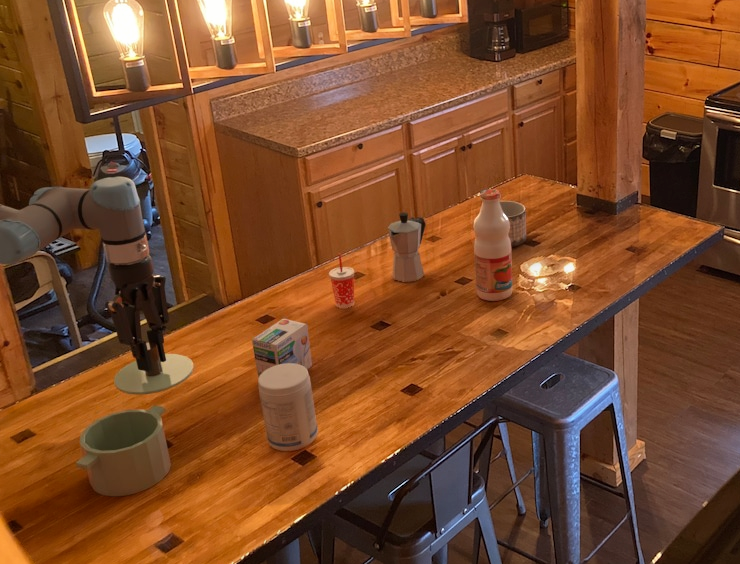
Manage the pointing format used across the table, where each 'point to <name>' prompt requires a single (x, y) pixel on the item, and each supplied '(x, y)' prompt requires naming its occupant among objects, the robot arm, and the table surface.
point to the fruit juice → (492, 249)
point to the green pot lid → (154, 373)
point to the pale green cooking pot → (125, 452)
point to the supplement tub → (288, 406)
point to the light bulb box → (282, 345)
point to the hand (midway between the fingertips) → (152, 364)
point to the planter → (515, 221)
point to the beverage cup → (343, 285)
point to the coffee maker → (407, 247)
